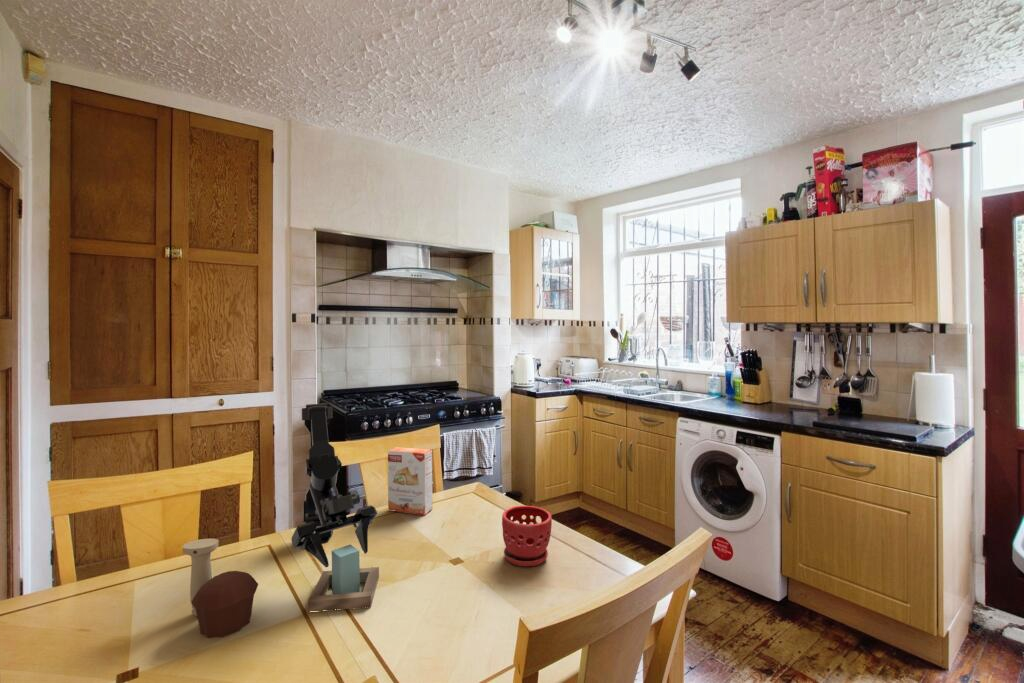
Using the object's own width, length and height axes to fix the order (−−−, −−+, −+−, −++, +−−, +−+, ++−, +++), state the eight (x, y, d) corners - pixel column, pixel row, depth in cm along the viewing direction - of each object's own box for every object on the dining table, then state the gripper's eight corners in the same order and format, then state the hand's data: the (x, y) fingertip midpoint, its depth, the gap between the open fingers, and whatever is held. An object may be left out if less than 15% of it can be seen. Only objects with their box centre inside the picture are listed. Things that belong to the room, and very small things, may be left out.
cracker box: (387, 512, 157) (386, 450, 157) (396, 505, 163) (396, 446, 162) (424, 516, 153) (424, 452, 153) (433, 509, 159) (432, 448, 158)
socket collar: (307, 613, 99) (307, 601, 99) (323, 581, 112) (323, 571, 112) (370, 607, 101) (370, 596, 101) (379, 577, 114) (378, 567, 114)
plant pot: (496, 568, 118) (496, 521, 118) (509, 545, 131) (508, 503, 131) (547, 574, 115) (547, 525, 115) (555, 550, 128) (555, 506, 128)
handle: (212, 618, 98) (211, 547, 97) (179, 621, 97) (178, 549, 97) (223, 605, 102) (222, 537, 102) (191, 608, 101) (190, 539, 101)
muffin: (240, 602, 103) (239, 557, 103) (270, 617, 98) (269, 570, 98) (180, 631, 93) (179, 582, 93) (209, 650, 88) (209, 597, 88)
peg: (332, 594, 107) (331, 550, 107) (350, 586, 110) (350, 544, 110) (340, 601, 104) (340, 557, 103) (359, 593, 107) (359, 550, 107)
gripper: (295, 490, 103) (315, 556, 95) (373, 472, 116) (396, 529, 108) (283, 516, 109) (301, 580, 101) (358, 496, 122) (380, 552, 114)
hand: (347, 559), depth 106 cm, fingers open, 9 cm apart
